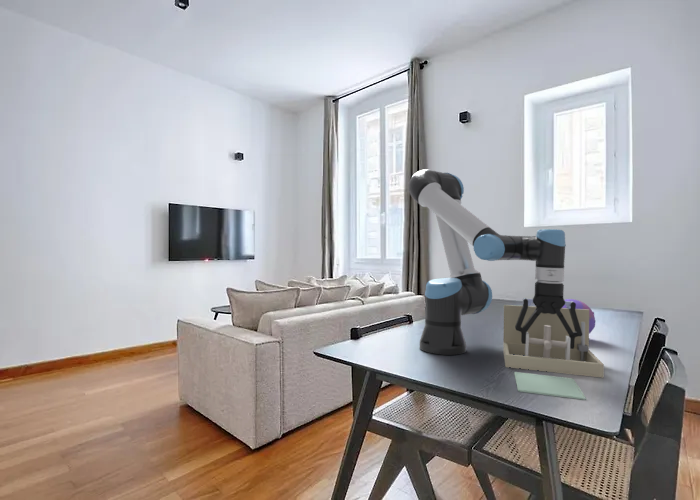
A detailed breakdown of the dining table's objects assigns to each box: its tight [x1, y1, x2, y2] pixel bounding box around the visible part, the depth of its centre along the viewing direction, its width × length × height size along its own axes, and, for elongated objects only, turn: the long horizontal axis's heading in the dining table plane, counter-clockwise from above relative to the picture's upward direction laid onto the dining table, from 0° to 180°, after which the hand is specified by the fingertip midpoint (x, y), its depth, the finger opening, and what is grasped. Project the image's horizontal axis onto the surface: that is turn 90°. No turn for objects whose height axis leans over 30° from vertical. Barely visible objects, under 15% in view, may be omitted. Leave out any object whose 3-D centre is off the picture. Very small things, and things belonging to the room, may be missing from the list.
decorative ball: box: [562, 298, 596, 335], centre depth 145 cm, size 15×15×15 cm
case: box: [502, 304, 605, 379], centre depth 113 cm, size 24×17×16 cm
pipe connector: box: [529, 325, 567, 358], centre depth 113 cm, size 10×10×10 cm
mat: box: [513, 371, 587, 401], centre depth 95 cm, size 14×14×1 cm
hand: (546, 356), depth 113 cm, fingers closed on pipe connector, 10 cm apart
